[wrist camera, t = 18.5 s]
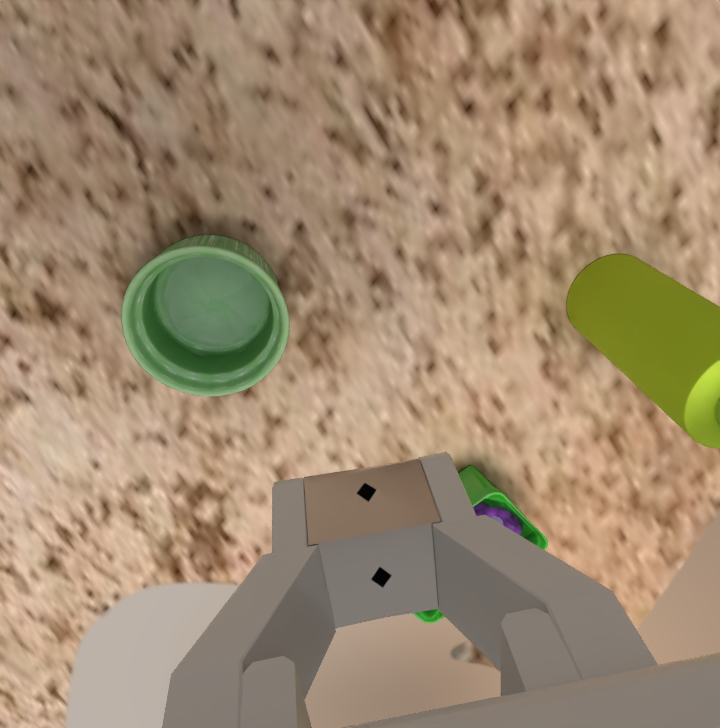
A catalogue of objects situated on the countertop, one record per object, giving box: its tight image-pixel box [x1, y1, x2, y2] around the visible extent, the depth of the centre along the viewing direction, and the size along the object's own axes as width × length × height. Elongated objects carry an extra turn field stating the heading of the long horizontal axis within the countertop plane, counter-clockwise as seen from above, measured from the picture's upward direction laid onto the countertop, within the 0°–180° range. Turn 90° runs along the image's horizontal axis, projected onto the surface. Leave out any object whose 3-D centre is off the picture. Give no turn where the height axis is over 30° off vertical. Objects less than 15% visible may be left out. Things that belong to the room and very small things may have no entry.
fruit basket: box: [412, 465, 548, 623], centre depth 42 cm, size 11×9×11 cm
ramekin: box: [121, 235, 290, 396], centre depth 34 cm, size 9×9×4 cm
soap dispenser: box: [567, 254, 720, 448], centre depth 31 cm, size 6×7×20 cm
